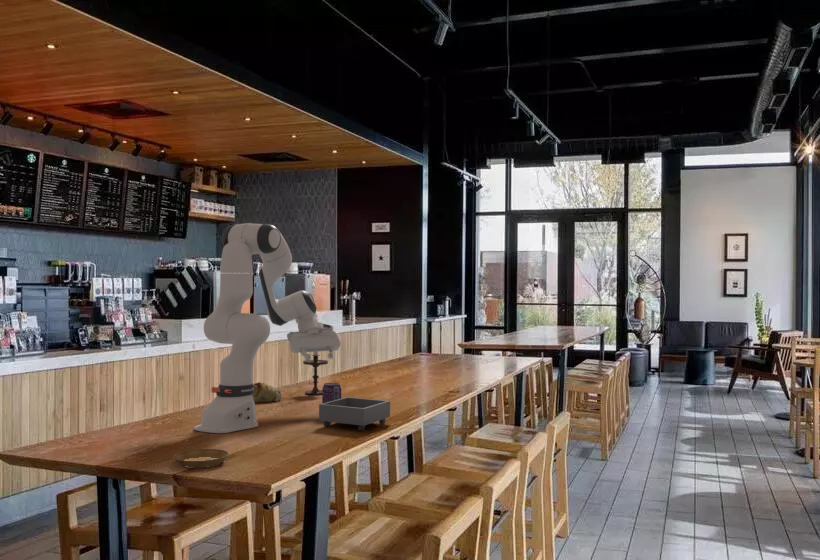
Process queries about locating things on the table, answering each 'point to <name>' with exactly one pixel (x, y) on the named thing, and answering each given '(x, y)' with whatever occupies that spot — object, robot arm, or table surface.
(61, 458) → the table surface
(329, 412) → the parts cart
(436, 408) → the table surface
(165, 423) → the table surface
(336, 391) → the beverage can
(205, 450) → the plant saucer
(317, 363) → the candlestick
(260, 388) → the olive green rounded lump
